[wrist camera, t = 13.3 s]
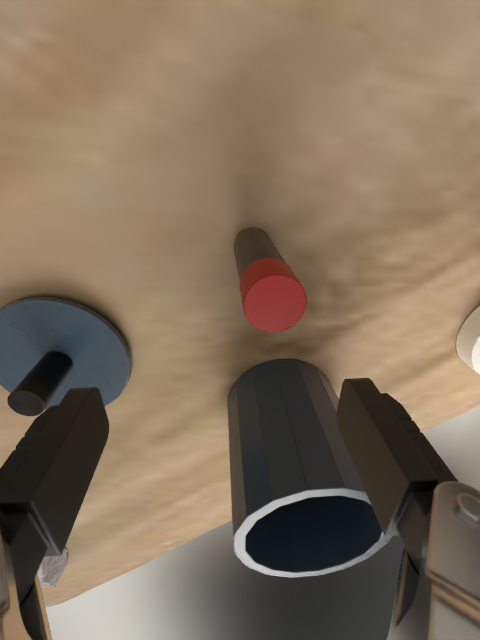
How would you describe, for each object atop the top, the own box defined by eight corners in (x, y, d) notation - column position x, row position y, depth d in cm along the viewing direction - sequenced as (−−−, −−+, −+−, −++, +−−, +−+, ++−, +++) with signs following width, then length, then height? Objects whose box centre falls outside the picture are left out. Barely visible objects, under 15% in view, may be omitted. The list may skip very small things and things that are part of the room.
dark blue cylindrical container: (285, 339, 27) (331, 463, 16) (351, 398, 31) (425, 530, 20) (205, 404, 30) (198, 547, 19) (275, 450, 34) (303, 590, 23)
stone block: (79, 547, 44) (49, 525, 37) (66, 591, 40) (30, 575, 34) (-2, 551, 44) (-47, 530, 37) (-23, 595, 40) (-77, 580, 34)
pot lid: (34, 263, 22) (-23, 296, 17) (159, 351, 27) (145, 398, 21) (-34, 358, 26) (-100, 409, 20) (87, 421, 30) (59, 477, 25)
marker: (252, 218, 22) (278, 260, 13) (278, 245, 23) (319, 303, 14) (225, 246, 23) (229, 306, 13) (251, 272, 24) (272, 343, 15)
